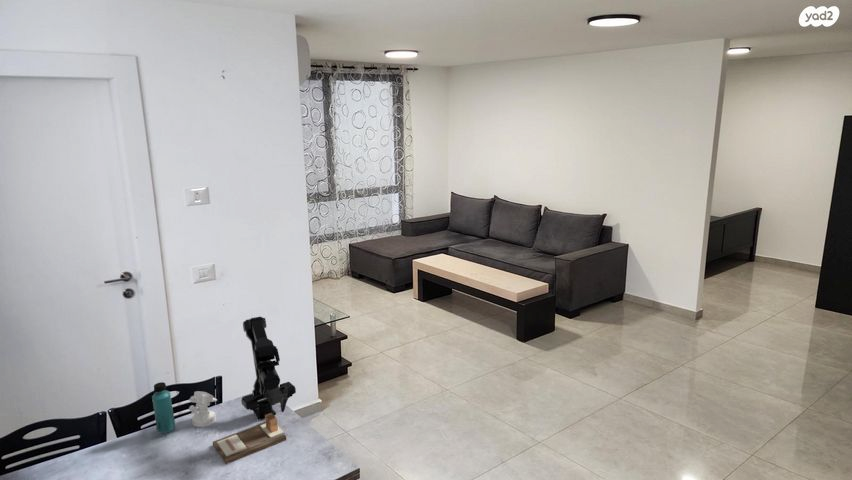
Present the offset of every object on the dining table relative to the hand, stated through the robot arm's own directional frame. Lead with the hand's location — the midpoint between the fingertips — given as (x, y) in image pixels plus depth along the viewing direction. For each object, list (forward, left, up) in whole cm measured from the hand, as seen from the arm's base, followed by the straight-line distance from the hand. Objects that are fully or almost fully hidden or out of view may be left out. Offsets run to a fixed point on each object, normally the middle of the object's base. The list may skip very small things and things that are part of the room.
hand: (270, 416), depth 198 cm
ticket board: (0, -9, -8) cm, 12 cm away
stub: (0, 0, -6) cm, 6 cm away
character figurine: (-26, -16, -8) cm, 32 cm away
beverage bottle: (-27, -30, -8) cm, 42 cm away
